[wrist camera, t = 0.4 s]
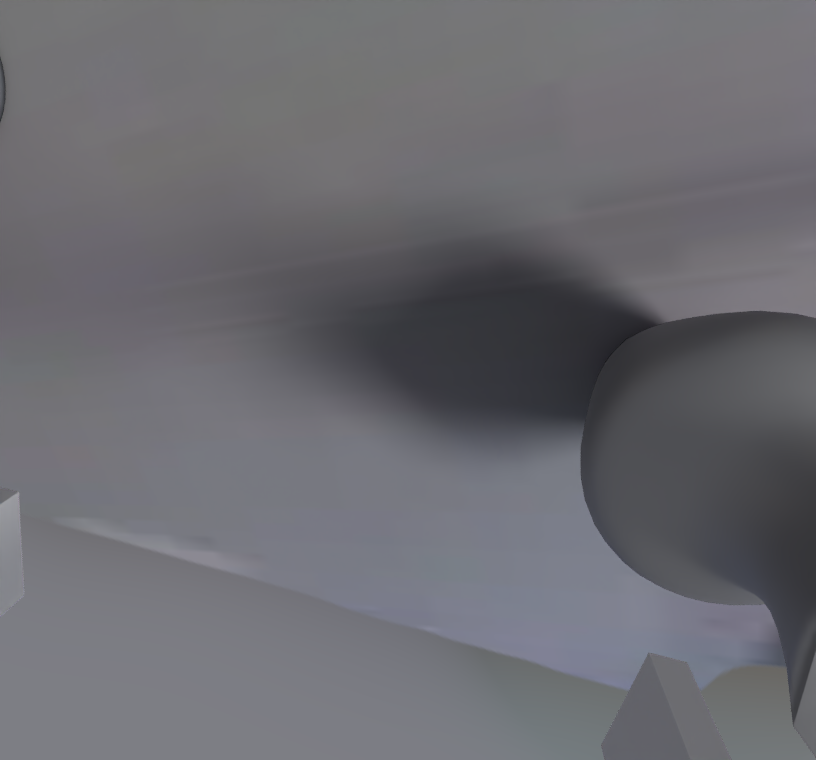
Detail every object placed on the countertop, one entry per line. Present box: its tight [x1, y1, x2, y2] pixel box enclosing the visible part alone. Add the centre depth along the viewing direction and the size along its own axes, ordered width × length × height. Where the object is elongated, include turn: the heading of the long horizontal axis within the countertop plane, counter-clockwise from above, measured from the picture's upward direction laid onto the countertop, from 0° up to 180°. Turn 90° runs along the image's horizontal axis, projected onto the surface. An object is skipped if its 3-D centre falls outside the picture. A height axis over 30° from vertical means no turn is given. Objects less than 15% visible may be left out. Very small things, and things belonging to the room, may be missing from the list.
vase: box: [581, 311, 816, 757], centre depth 25 cm, size 14×14×25 cm
